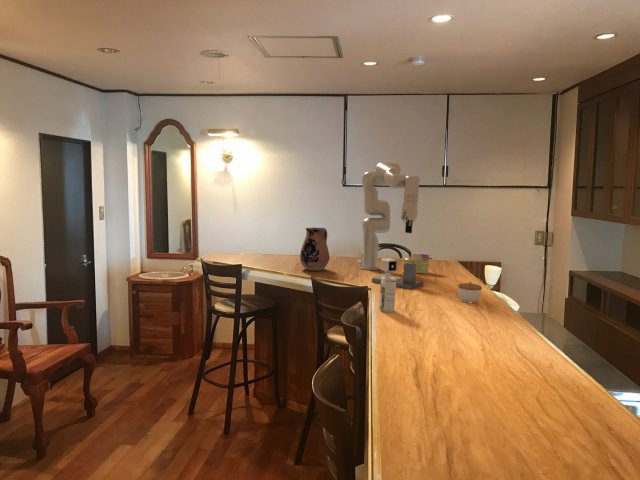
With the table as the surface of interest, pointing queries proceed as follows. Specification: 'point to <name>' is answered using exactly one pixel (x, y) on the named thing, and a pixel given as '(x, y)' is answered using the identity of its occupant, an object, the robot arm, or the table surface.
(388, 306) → the syrup box
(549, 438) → the table surface
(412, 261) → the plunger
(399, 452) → the table surface
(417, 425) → the table surface
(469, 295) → the lidded jar
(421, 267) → the box
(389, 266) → the security camera
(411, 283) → the press base
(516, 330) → the table surface
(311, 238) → the ceramic pitcher
